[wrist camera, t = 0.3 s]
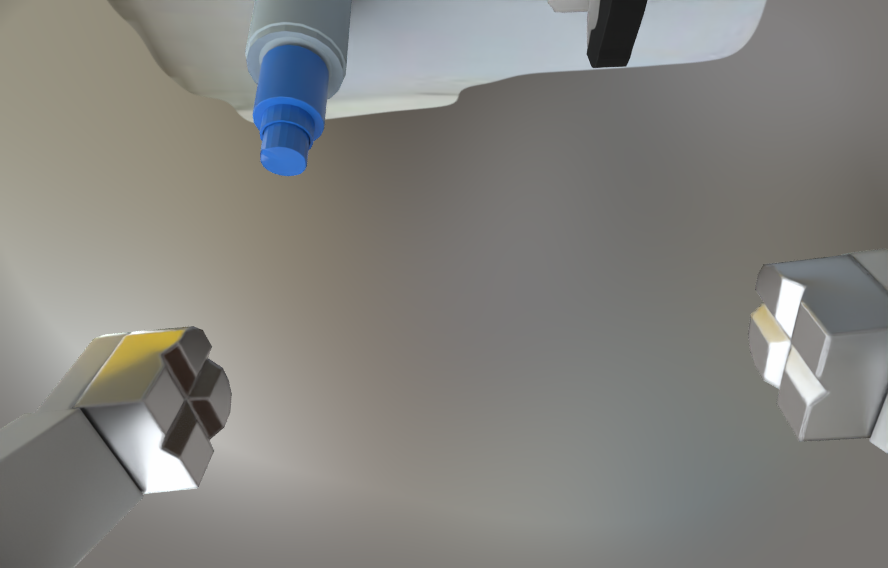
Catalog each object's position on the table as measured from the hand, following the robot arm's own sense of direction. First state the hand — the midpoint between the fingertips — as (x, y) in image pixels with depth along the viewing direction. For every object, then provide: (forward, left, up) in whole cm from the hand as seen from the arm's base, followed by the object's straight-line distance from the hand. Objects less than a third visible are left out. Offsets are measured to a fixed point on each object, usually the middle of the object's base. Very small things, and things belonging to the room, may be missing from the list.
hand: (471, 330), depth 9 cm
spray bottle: (+18, -28, -53) cm, 62 cm away
